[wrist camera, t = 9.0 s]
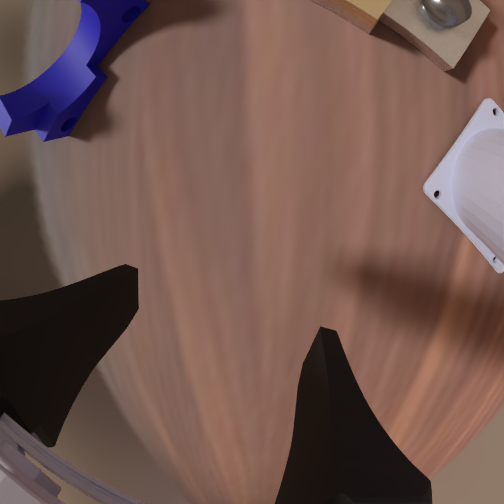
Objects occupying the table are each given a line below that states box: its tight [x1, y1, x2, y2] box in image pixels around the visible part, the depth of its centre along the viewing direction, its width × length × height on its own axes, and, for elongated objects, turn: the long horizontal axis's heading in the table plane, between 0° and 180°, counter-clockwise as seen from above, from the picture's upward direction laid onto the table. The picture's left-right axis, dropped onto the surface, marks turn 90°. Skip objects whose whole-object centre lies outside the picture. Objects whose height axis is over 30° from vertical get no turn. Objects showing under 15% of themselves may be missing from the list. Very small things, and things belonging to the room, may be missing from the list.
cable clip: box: [0, 0, 150, 142], centre depth 14 cm, size 12×4×6 cm, turn 131°
